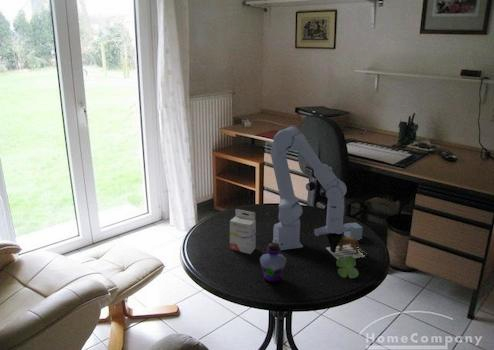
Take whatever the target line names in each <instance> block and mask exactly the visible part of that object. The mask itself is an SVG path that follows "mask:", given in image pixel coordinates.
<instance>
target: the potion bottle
mask: <svg viewBox="0 0 494 350" xmlns="http://www.w3.org/2000/svg"><path fill="white" fill-rule="evenodd" d="M281 251H282V250H281V248H280V247H279V244H278V243H273V242H269V243H268V246H266V251H265V252H266V253H264V254H262V255H261V256H260V258H259V262H260V267H261V269H262V271H263V276H264V277H263V278H264V281H266V283H272V284H275V283H279V282H280V281H281V280H282V276H283V272H284V268H285V266H286V264H287V261H288V259H287V257H285V256H284V255H283V254H281Z"/></svg>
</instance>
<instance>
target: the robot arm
mask: <svg viewBox="0 0 494 350" xmlns="http://www.w3.org/2000/svg"><path fill="white" fill-rule="evenodd" d="M272 140H273V141H272V144H271V148H270V157H271V163H272V167H273V168H272V169H273V171H274V177H275V181H276V185H277V189H278V194H279V195H278V196H279V198H280V200H279V203H278V221H279V222H277V223H275V224H274V225H273V231H272V232H273V233H272V234H273V235H272V236H273V239H272V243H278V244H279V247H280V248H281V250H280V251H283V250H284V251H286V250H292V249H301V248H304V245H303V244H302V243H301V242H300V232H301V219H300V217H301V216H302V214H303V212H304V211H303V207H302V205H301V204H300V202H299V199H298V197H297V196H296V195H295V191H294V187H293V181H292V178H291V173H290V168H289V163H288V158H287V154H288V151H290V150H291V151H294V152H298V153H300V155H302V157H303V158H304V159H305V160H306V161H307V163H308V164H309V165H310V166H311V167H312V169H313V175H314V177H315V178H316V181H318V182H319V184H320V185H321V187H322V188H323V189H324V190H325V196H326V198H327V206H326V207H327V208H326V221H325V222H326V223H325V224H326V225H324V226H321V227H317V228H313V230H314V232H313V233H314V235H315V237H319V236H321V235H326V237H327V240H328V243H329V247H330V251H331V252H333V253H335V251H336V247H337V246H339V244H338V243H339V241H340V240H341V238H342V234H343V233H344V232H347V231H351V232H354V226H353V225H345V224H344V216H345V215H344V212H345V195H346V194H347V191H348V190H347V188H348V187H347V186H346V182H344V181H342V180H341V179H340V178H338V176H336V175H335V173H334V171H333V168H332V166H330V165H328V164H326V163H322V161H321V160H320V158H319V157H318V155H317V154H316V153H315V151H314V150H313V148H312V147H311V145H310V144H309V141H308V140H307V139H306V137H305V135H304V134H303V133H302V132H301V130H300V129H299V128H298V127H297V126H295V125H294V126H293V125H290V126H288V127H286V128H284V129H280V130H278V131H277V132H276V133H275V135H274V136H273V138H272Z"/></svg>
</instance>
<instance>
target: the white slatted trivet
mask: <svg viewBox="0 0 494 350" xmlns="http://www.w3.org/2000/svg"><path fill="white" fill-rule="evenodd" d="M356 248H358V247H356ZM325 249H326V250H327V251H328V252H329V253H330V254H331V255H332V256H333V257H334V258H335V259H336V260H337V259H338V258H343V259H346V257H347V256H352V257H353V258H354V259H359V258H360V257H361V258H366V257H365V255H363V253H361V252H360V251H359V249H358V252H359V253H358V254H355V252H357V251H356V250H353V249H354V248H353V247H352V246H351V244H349V245H345V244H343V248H342V250H341V251H339V250H338V249H340V247H339V245H337V247H336V251H335V253H333V252H331V251H330V246H329V247H325Z"/></svg>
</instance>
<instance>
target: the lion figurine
mask: <svg viewBox="0 0 494 350" xmlns="http://www.w3.org/2000/svg"><path fill="white" fill-rule="evenodd" d="M350 244H351V246H352V247H353V248H354V249H353V250H356V251H357V252H355V254H358V253H359V252H358V249H357V248H356V245H357V246H358V248H359V250H360V251H361V252H365V251H364V250H362V249H361V247H360V245H359V242H358V240H356V239H355V238H354V237H346V236H344V233H342V238H341V240H340V241H339V243H338V246H339V247H340V249H338V250H339V251H341V250H342V248H343V245H350Z"/></svg>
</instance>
